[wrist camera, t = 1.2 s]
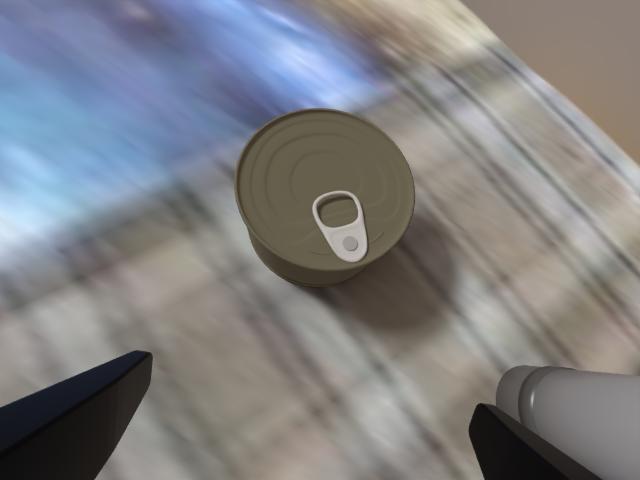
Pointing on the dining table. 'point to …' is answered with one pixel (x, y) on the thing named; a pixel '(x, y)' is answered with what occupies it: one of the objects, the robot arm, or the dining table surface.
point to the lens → (579, 415)
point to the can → (322, 195)
